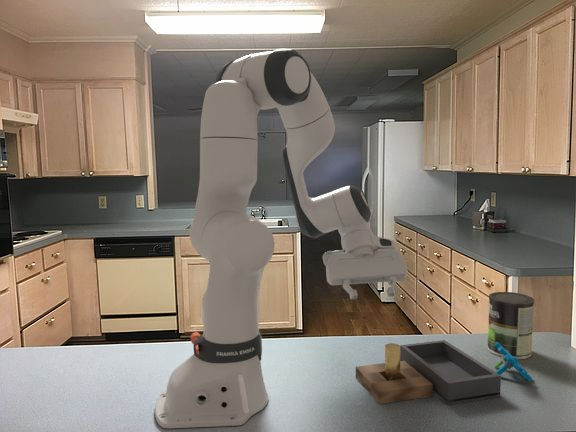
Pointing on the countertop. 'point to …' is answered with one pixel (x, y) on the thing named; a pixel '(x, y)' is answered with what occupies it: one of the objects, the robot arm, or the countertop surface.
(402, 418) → the countertop surface
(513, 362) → the blue notched toy part
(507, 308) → the coffee can
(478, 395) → the tray
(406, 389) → the block
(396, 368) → the pin
